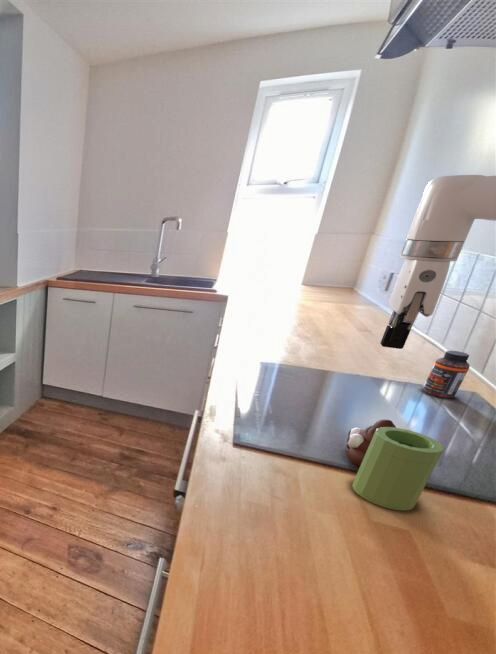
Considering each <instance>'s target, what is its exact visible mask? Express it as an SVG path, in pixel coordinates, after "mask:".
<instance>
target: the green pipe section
mask: <svg viewBox="0 0 496 654" xmlns="http://www.w3.org/2000/svg"><path fill="white" fill-rule="evenodd" d="M444 449H445V447H444V445H442V444H441V443H440V442H439V441H438V440H436V439H434V438H432V437H430V436H428V435H426V434H422V433H419V432H418V431H413V430H410V429H406V428H400V427H396V428H394V427H381V428H377V429H376V431H375V433H374V435H373V438H372V440H371V442H370V445H369V447H368V449H367V452H366V454H365V456H364V459H363V461H362V463H361V466H360V467H358V470H357V473H356V475H355V477H354V479H353V482H352V489H353V490H354V492H355V493H356V494H357V495H358V496H360V497H361V498H362V499H365V500H366V501H367V502H370V503H371V504H375V505H376V506H379V507H382V508H386V509H390V510H395V511H402V512H403V511H410V510H413V509H414V508H415V506H416V504H417V502H418V500H419V499H420V497H421V495H422V493H423V491H424V489H425V487H426V485H427V483H428V481H429V479H430V477H431V476H432V474H433V472H434V469H435V467H436V465H437V464H438V462H439V460H440V458H441V456H442V454H443V452H444Z"/></svg>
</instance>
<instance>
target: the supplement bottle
mask: <svg viewBox="0 0 496 654" xmlns="http://www.w3.org/2000/svg"><path fill="white" fill-rule="evenodd" d="M469 357H470V354H469V353H467V352H463V351H459V350H446V351H445V353H444V355H443V357H439V358H437V359H436V360H435V361H434V364H433V366H432V368H431V370H430V372H429V375H428V377H427V379H426V380H425V382H424V385H423V387H422V391H423V392H424V393H425V394H427V395H430V396H434V397H437V398H442V399H443V398H444V399H452V398H454V397H455V396H456V395H457V393H458V391H459V389H460V387H461V385H462V383H463V381H464V379H465V378H466V375H467V373H468V371H469V370H470V367H471V365H470V363H469V362H468V361H467V360H469Z"/></svg>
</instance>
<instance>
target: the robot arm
mask: <svg viewBox="0 0 496 654" xmlns="http://www.w3.org/2000/svg"><path fill="white" fill-rule="evenodd" d="M475 220H485V221H493V222H496V175H483V174H458V175H443V176H438V177H434V178H433V179H431V180H430V181H429V182H428V184H427V185H426V186H425V188H424V191H423V193H422V196H421V199H420V201H419V204H418V207H417V209H416V212H415V214H414V217H413V220H412V222H411V224H410V226H409V227H410V228H409V230H408V233H407V236H406V239H405V241H404V244H403V246H402V249H401V251H400V254H399V256H398V258H399V259H404V260H405V261H404V263H403V264H402V266H401V269H400V272H399V274H398V276H397V279H396V281H395V283H394V287H393V289H392V291H391V295H390V297H389V302H388V306H389V307H390V308H391V310H392V312H391V315H390V318H389V321H388V325H386V328H385V330H384V333H383V335H382V337H381V340H380V345H381V347H383V348H390V349H396V350H397V349H399V350H402V349H404V347H405V345H406V343H407V340H408V338H409V335H410V333H411V331H412V327H413V325H414V323H415V321H416V319H417V318H418V315H419V313H420V314H421V315H422V316H423V317H424V318H425V317H426V318H428V317H430V316H432V315H433V314H434V312H435V310H436V307H437V304H438V301H439V299H440V296H441V293H442V290H443V288H444V285H445V283H446V279H447V277H448V273H449V269H450V265H451V262H457V261H458V258H459V256H460V254H461V251H462V249H463V247H464V244H465V242H466V240H467V238H468V235H469V233H470V231H471V229H472V227H473V224H474V222H475Z"/></svg>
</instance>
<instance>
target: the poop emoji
mask: <svg viewBox="0 0 496 654" xmlns="http://www.w3.org/2000/svg"><path fill="white" fill-rule="evenodd" d="M381 427H394V428H397V426H396V425H395V423H394V422H393V421H392V420H391V419H387V418H382V419H380V420H377V421H376V422H375V423H373V424H372V425H369V426H367V427H366V428H364V429H362V428H360V427H354V428H351V429H350V430H349V431H348V433H347V436H348V437H347V440H346V443H347V444H346V448H345V449H346V450H345V454H346V457H347V459H348V461H349V462H351V463H352V464H353V465H355V466H356V467H358V468H360V466H361V463H362V461H363V459H364V456H365V454H366V452H367V449H368V447H369V445H370V442H371V440H372V438H373V435H374V433H375V431H376V429H377V428H381Z"/></svg>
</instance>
